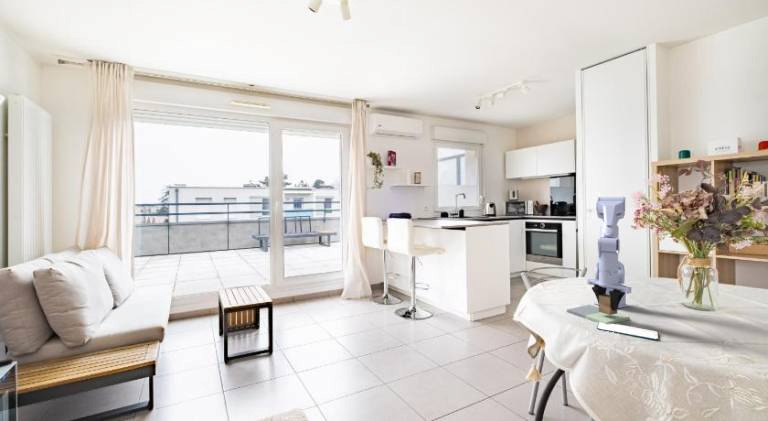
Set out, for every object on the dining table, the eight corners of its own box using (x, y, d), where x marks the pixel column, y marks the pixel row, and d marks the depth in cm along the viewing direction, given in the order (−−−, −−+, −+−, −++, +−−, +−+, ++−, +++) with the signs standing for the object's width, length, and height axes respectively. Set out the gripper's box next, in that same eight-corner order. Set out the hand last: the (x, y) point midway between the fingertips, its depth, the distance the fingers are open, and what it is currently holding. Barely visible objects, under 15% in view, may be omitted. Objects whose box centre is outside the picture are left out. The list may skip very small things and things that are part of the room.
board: (589, 307, 135) (589, 304, 135) (629, 319, 121) (629, 316, 121) (566, 312, 130) (566, 309, 130) (605, 325, 116) (605, 322, 116)
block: (606, 310, 124) (606, 294, 124) (617, 313, 121) (617, 296, 120) (598, 311, 123) (598, 295, 123) (609, 315, 119) (609, 298, 119)
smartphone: (596, 331, 113) (658, 342, 103) (596, 328, 113) (658, 339, 103) (599, 323, 119) (657, 334, 109) (599, 321, 119) (657, 331, 109)
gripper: (581, 268, 126) (581, 304, 127) (622, 276, 113) (621, 316, 113) (594, 266, 129) (594, 301, 130) (635, 274, 116) (634, 313, 116)
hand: (608, 308), depth 122 cm, fingers closed on block, 4 cm apart
